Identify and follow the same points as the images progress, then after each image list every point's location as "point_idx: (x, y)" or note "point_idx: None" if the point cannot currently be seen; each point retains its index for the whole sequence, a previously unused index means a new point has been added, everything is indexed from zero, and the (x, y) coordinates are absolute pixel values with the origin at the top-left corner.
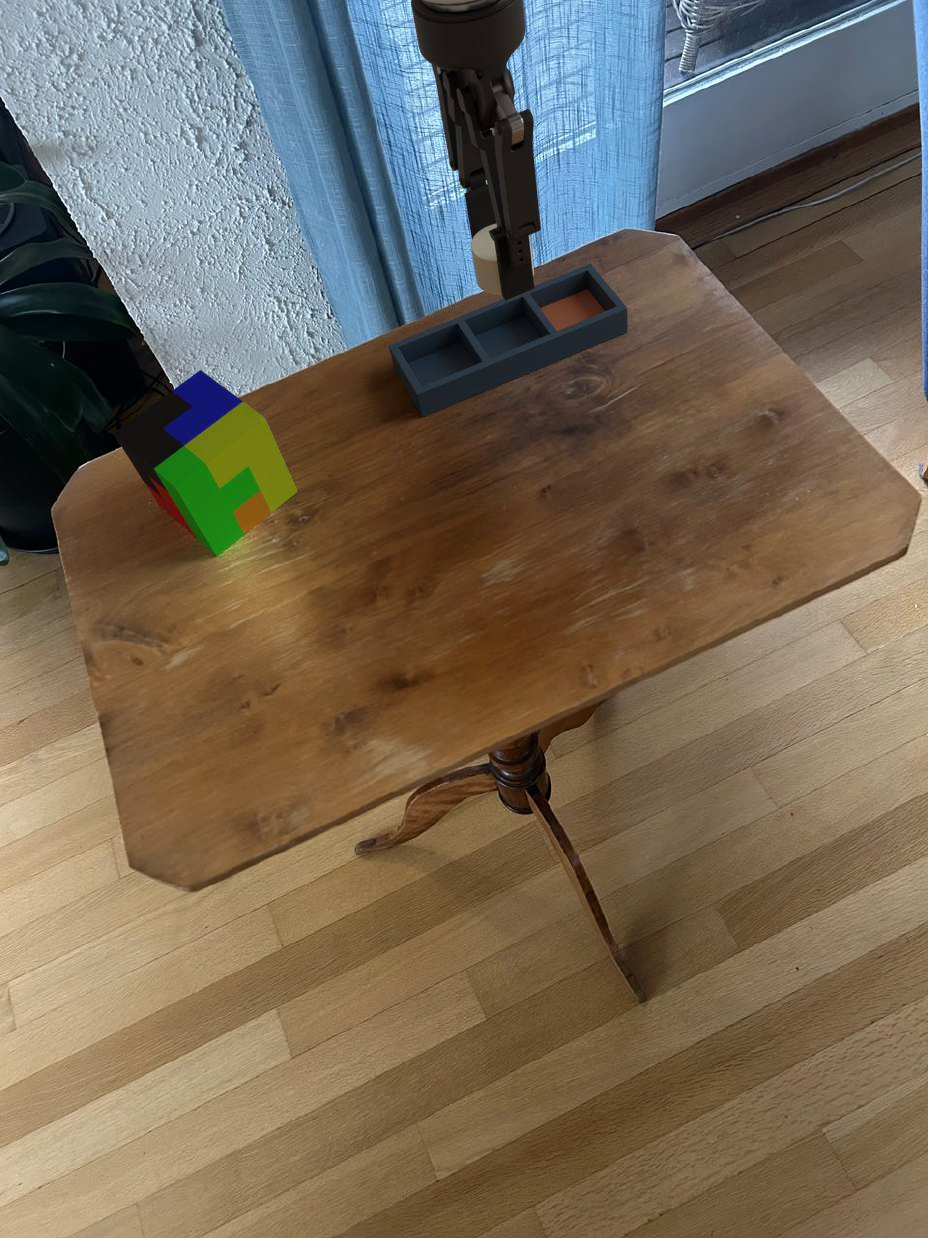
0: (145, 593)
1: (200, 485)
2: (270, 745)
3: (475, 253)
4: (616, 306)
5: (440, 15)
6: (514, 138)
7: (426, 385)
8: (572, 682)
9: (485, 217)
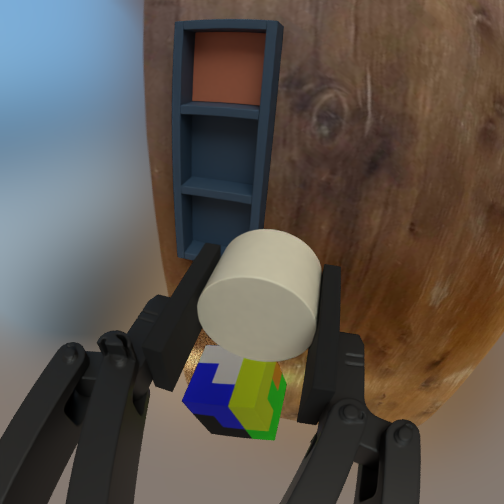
0: (283, 404)
1: (273, 425)
2: (405, 403)
3: (256, 360)
4: (266, 29)
5: None
6: None
7: None
8: None
9: (190, 329)
